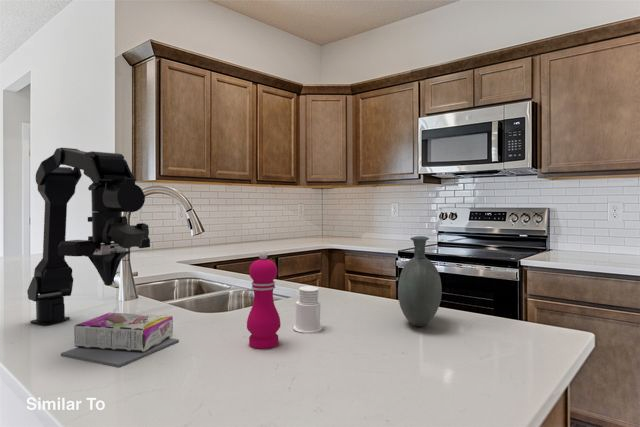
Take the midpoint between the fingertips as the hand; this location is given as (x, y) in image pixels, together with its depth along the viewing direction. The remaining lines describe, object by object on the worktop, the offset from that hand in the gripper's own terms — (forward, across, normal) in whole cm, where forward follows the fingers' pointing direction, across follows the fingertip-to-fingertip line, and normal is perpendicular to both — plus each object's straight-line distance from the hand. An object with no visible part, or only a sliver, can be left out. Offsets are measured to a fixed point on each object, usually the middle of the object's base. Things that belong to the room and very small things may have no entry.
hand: (108, 285), depth 94 cm
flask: (+14, +42, -58) cm, 73 cm away
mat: (+13, 0, -4) cm, 14 cm away
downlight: (+14, +28, -34) cm, 46 cm away
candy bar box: (+10, 0, +6) cm, 12 cm away
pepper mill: (+13, +14, -30) cm, 35 cm away
